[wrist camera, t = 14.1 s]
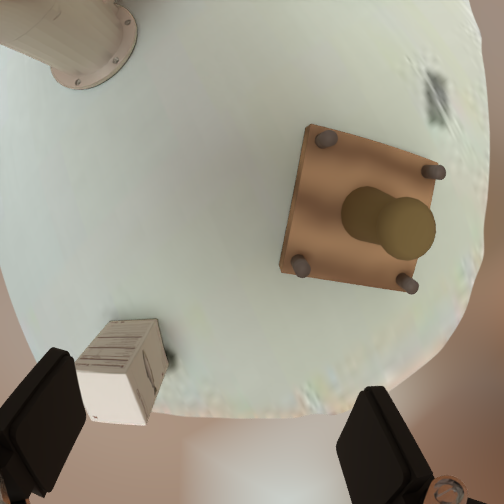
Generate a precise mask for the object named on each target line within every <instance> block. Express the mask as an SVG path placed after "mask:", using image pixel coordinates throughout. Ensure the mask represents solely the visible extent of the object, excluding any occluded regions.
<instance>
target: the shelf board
mask: <svg viewBox="0 0 504 504" xmlns="http://www.w3.org/2000/svg"><path fill="white" fill-rule="evenodd" d="M445 176H446V170H445V168H444V167H443V166H442V165H438V163H437V162H434V161H431V160H429V159H426V158H423V157H421V156H418V155H415V154H412V153H409V152H406V151H404V150H401V149H398V148H395V147H392V146H388V145H385V144H382V143H379V142H376V141H373V140H369V139H366V138H362V137H359V136H356V135H352V134H348V133H345V132H341V131H337V130H333V129H329V128H326V127H321V126H317V125H313V124H310V125H309V126H307V127H306V128H305V133H304V139H303V144H302V150H301V155H300V161H299V166H298V171H297V177H296V182H295V187H294V192H293V197H292V202H291V208H290V213H289V218H288V223H287V228H286V232H285V237H284V242H283V247H282V252H281V257H280V261H279V267H280V269H281V272H282V273H287V274H293V275H297V276H298V277H300V278H305V277H312V278H318V279H324V280H331V281H337V282H343V283H350V284H356V285H363V286H369V287H376V288H382V289H389V290H396V291H403V292H407V293H409V294H415V293H416V292H417V290H418V288H419V284H418V282H416V281H415V280H414V279H412V276H413V273H414V270H415V266H416V263H417V259H418V258H417V259H415V260H410V261H405V260H398V259H396V258H394V257H392V256H391V255H389V254H388V253H387V252H386V251H385V250H384V249H383V247H382V246H381V245H377V244H373V243H369V242H364V241H360V240H357V239H355V238H353V237H351V236H350V235H349V234H348V233H347V231H346V230H345V228H344V226H343V224H342V220H341V210H342V204H343V202H344V201H345V199H346V197H347V196H348V195H349V194H350V193H351V192H352V191H353V190H355V189H357V188H359V187H364V186H370V187H374V188H377V189H379V190H381V191H383V192H385V193H387V194H389V195H391V196H393V197H394V198H396V199H397V198H400V197H411V198H415V199H419V200H420V201H421V202H423V203H424V204H425V205H427V206H428V208H429V209H430V205H431V201H432V195H433V190H434V185H435V179H437V180H442V179H444V178H445Z"/></svg>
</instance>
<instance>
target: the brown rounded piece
mask: <svg viewBox="0 0 504 504" xmlns="http://www.w3.org/2000/svg"><path fill="white" fill-rule="evenodd" d="M341 220H342V224H343V226H344V228H345V230H346V231H347V233H348V234H349V235H350V236H351V237H353V238H355V239H357V240H360V241H364V242H369V243H373V244H377V245H381V246H382V247H383V249H384V250H385V251H386V252H387V253H388V254H389V255H391V256H392V257H394V258H396V259H398V260H405V261H410V260H415V259H417V258H419V257H421V256H422V255H424V254H425V253H426V252H427V251H428V250H429V249H430V247H431V245H432V243H433V241H434V238H435V234H436V224H435V220H434V217H433V213H432V212H431V210H430V209H429V208H428V206H427V205H425V204H424V203H423V202H421V201H420V200H419V199H415V198H411V197H400V198H397V199H396V198H394V197H393V196H391V195H389V194H387V193H385V192H383V191H381V190H379V189H377V188H374V187H370V186H364V187H359V188H357V189H355V190H353V191H352V192H351V193H350V194H349V195H348V196H347V197H346V199H345V201H344V202H343V204H342V210H341Z"/></svg>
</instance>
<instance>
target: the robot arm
mask: <svg viewBox="0 0 504 504" xmlns="http://www.w3.org/2000/svg"><path fill="white" fill-rule="evenodd" d="M114 1H115V0H0V44H1V45H3V46H6V47H8V48H11V49H13V50H15V51H18V52H20V53H22V54H25V55H27V56H29V57H31V58H34V59H36V60H38V61H40V62H43V63H45V64H47V65H49V66H50V67H51V72H52V74H53V76H54V78H55V79H56V81H57V82H59V83H60V84H61V85H63V86H65V87H67V88H71V89H78V90H82V89H88V88H91V87H94V86H97V85H99V84H101V83H103V82H104V81H106V80H107V79H109V78H110V77H111V76H113V75H114V74H115V73H116V72H117V71H118V70H119V69H120V68H121V67H122V66H123V65H124V63H125V62H126V61H127V59H128V58H129V56H130V54H131V53H132V50H133V48H134V45H135V43H136V38H137V26H136V22H135V19H134V18H133V16H132V14H131V13H130V12H129V11H128V10H127V9H126V8H124V7H123V6H120V5H117V4H114ZM118 61H119V62H118ZM117 62H118V63H117ZM85 420H86V412H85V408H84V404H83V400H82V396H81V391H80V387H79V382H78V378H77V373H76V368H75V363H74V359H73V357H71V356H70V354H69V352H68V351H65V350H61V349H58V348H55V347H52V348H51V349H50V350H49V351H48V352H47V353H46V354H45V355H44V356H43V357H42V359H41V360H40V361H39V362H38V363H37V364H36V366H35V367H34V368H33V369H32V370H31V371H30V372H29V374H28V375H27V376H26V377H25V378H24V380H23V381H22V382H21V383H20V384H19V386H18V387H17V388H16V389H15V390H14V392H13V393H12V394H11V395H10V396H9V398H8V399H7V400H6V401H5V403H4V404H3V405H2V407H1V408H0V504H30V501H29V496H30V494H31V492H32V493H34V494H36V495H38V496H41V497H43V498H44V497H45V495H46V493H47V492H51V491H52V489H53V487H54V485H55V483H56V481H57V479H58V476H59V474H60V472H61V470H62V468H63V466H64V463H65V462H66V460H67V457H68V455H69V453H70V451H71V449H72V447H73V445H74V443H75V441H76V439H77V437H78V435H79V433H80V431H81V429H82V427H83V425H84V423H85ZM336 451H337V455H338V458H339V461H340V465H341V468H342V471H343V475H344V478H345V481H346V484H347V488H348V491H349V495H350V498H351V501H352V504H486V503H483V502H480V501H477V500H474V499H471V498H468V491H467V488H466V486H465V484H464V483H463V482H462V481H461V480H460V479H458V478H456V477H454V476H450V475H443V476H439V477H437V478H434V476H433V472H432V471H431V469H430V467H429V465H428V463H427V461H426V459H425V458H424V456H423V454H422V452H421V450H420V448H419V447H418V445H417V443H416V441H415V439H414V438H413V436H412V434H411V432H410V431H409V429H408V427H407V425H406V423H405V422H404V420H403V418H402V416H401V415H400V413H399V411H398V410H397V408H396V406H395V404H394V403H393V401H392V399H391V398H390V396H389V394H388V392H387V391H386V389H385V388H384V387H383V386H368V387H366V388H365V389H364V391H361V392H360V393H359V395H358V397H357V400H356V402H355V404H354V407H353V409H352V411H351V413H350V416H349V418H348V420H347V422H346V425H345V427H344V429H343V431H342V433H341V435H340V437H339V439H338V441H337V444H336Z"/></svg>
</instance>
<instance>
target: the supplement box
mask: <svg viewBox="0 0 504 504" xmlns="http://www.w3.org/2000/svg"><path fill="white" fill-rule="evenodd" d="M168 365H169V363H168V360H167V357H166V354H165V351H164V347H163V343H162V339H161V335H160V331H159V326H158V321H157V319H146V320H124V321H110V322H109V323H108V324H107V325H106V326H105V327H104V328H103V329H102V331H101V332H100V333H99V334H98V335H97V336H96V338H95V339H94V340H93V341H92V342H91V343H90V345H89V346H88V347H87V348H86V349H85V351H84V352H83V353H82V354H81V355H80V357H79V358H78V359H77V360H76V361H75V368H76V373H77V378H78V382H79V387H80V391H81V396H82V400H83V404H84V407H85V409H86V411H87V412H88V414H89V417H90V419H91V420H92V421H97V422H104V423H114V424H127V425H147V421H148V419H149V416H150V413H151V410H152V408H153V405H154V402H155V400H156V397H157V394H158V392H159V389H160V386H161V384H162V381H163V379H164V376H165V373H166V371H167V368H168Z"/></svg>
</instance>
